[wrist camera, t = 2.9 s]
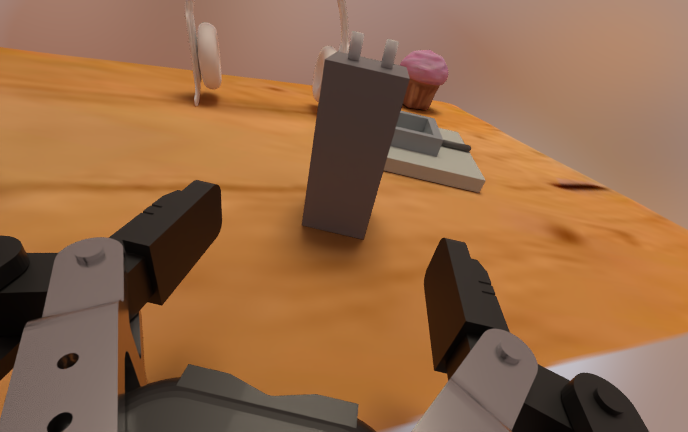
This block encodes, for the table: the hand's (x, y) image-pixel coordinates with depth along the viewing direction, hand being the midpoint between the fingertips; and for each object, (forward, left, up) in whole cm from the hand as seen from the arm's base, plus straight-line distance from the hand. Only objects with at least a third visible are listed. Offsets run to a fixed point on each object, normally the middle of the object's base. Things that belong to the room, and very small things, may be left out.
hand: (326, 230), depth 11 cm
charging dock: (-3, +30, -7) cm, 31 cm away
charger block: (-3, +11, -7) cm, 13 cm away
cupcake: (-6, +55, -7) cm, 56 cm away
